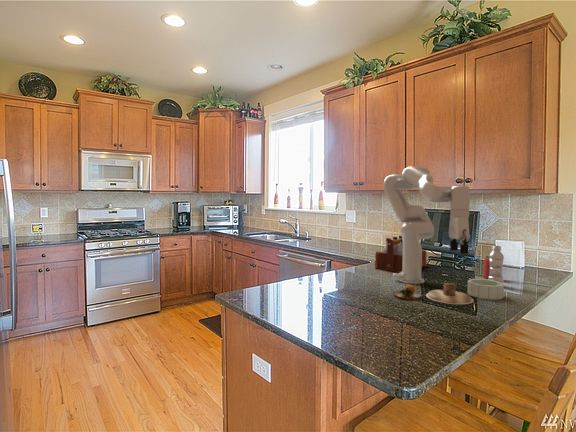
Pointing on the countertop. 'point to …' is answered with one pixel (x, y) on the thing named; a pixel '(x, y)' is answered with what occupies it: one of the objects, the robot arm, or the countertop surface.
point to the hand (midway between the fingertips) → (458, 252)
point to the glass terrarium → (408, 293)
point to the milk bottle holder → (393, 255)
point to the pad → (450, 303)
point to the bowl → (485, 289)
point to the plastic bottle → (496, 264)
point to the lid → (449, 294)
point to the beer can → (486, 267)
